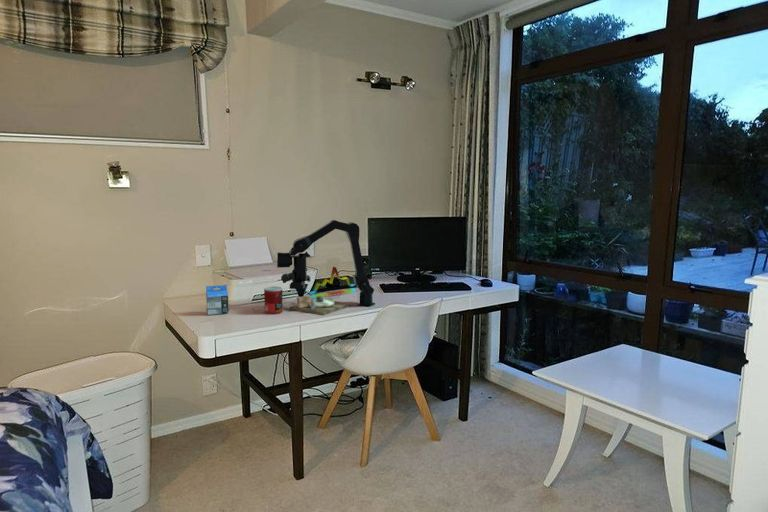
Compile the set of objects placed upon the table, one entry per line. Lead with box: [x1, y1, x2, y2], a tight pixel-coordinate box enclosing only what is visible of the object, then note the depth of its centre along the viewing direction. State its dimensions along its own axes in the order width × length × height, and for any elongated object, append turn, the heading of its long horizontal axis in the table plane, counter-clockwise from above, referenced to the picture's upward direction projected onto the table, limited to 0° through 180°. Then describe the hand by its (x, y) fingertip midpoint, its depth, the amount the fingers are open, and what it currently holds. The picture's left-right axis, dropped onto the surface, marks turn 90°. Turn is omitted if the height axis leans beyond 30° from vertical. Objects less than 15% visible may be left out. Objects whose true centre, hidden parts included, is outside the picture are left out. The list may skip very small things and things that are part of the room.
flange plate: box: [296, 295, 335, 308], centre depth 222 cm, size 18×13×4 cm
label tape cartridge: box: [205, 284, 230, 316], centre depth 211 cm, size 9×4×12 cm, turn 114°
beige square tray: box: [288, 299, 351, 316], centre depth 224 cm, size 20×20×6 cm
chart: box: [305, 266, 356, 299], centre depth 248 cm, size 30×3×15 cm, turn 132°
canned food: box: [263, 286, 284, 315], centre depth 214 cm, size 8×8×11 cm
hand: (300, 300), depth 222 cm, fingers closed
